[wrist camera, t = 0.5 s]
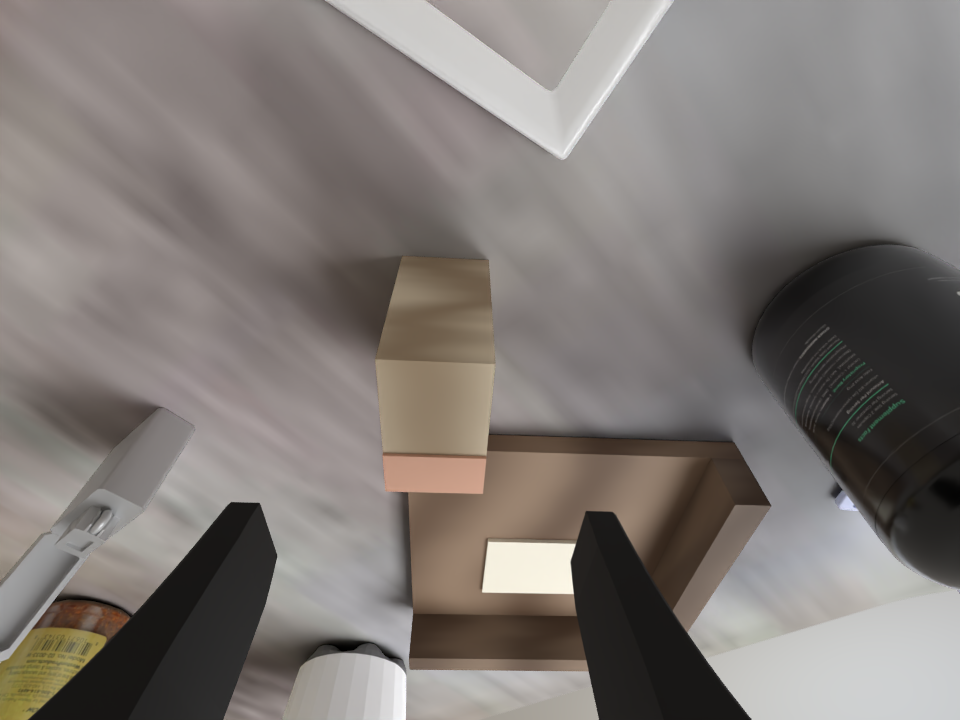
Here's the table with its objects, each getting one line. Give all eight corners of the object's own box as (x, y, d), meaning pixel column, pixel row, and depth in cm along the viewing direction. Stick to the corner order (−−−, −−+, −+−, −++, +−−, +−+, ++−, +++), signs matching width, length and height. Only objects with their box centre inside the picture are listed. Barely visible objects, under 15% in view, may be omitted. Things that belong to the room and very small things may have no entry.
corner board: (734, 442, 23) (771, 505, 20) (644, 612, 32) (660, 671, 30) (408, 431, 22) (399, 496, 19) (415, 609, 32) (409, 669, 29)
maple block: (488, 260, 17) (495, 366, 12) (480, 372, 20) (482, 494, 15) (401, 255, 17) (374, 362, 12) (406, 369, 20) (385, 491, 15)
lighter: (160, 405, 21) (24, 588, 15) (197, 428, 22) (83, 610, 15) (81, 476, 24) (-64, 657, 17) (117, 494, 24) (-9, 672, 18)
